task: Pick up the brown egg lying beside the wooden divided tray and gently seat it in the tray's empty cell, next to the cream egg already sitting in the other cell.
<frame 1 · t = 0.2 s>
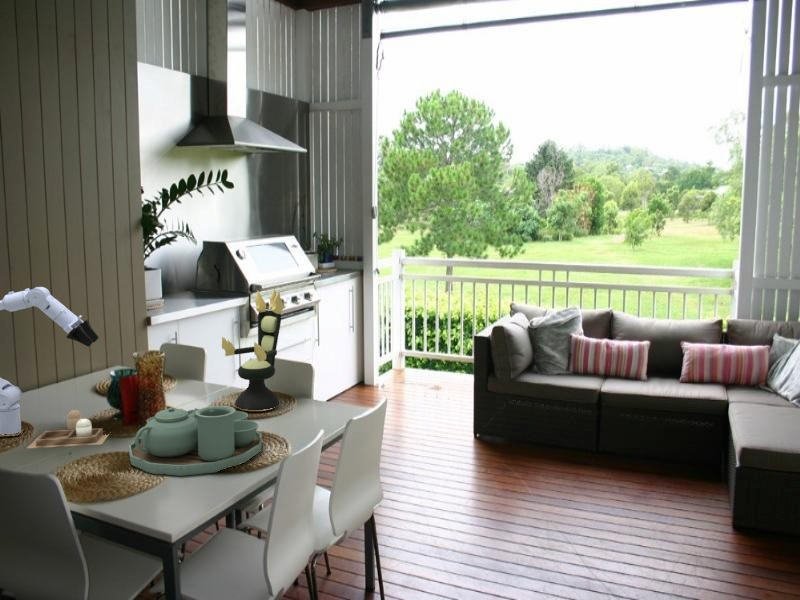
hand: (93, 342, 223), 30 cm above the table, tool tilted 45°, fingers open, 7 cm apart
cream egg: (84, 438, 215), resting on wooden divided tray
wooden divided tray: (70, 441, 214), on the table
toy throne chair: (260, 406, 256), on the table
brown egg: (75, 429, 227), on the table
tea set: (196, 453, 206), on the table
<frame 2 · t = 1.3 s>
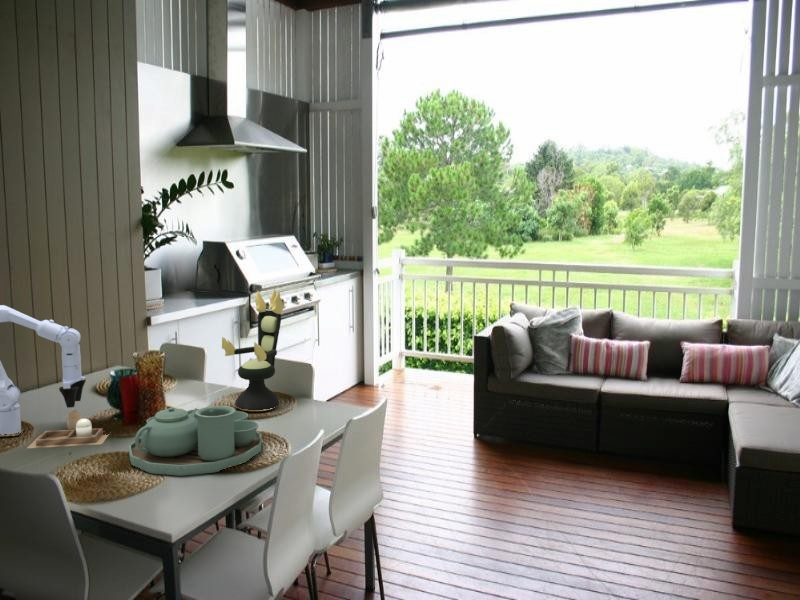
hand: (73, 404, 225), 9 cm above the table, tool pointing down, fingers open, 7 cm apart
nothing on the table moved.
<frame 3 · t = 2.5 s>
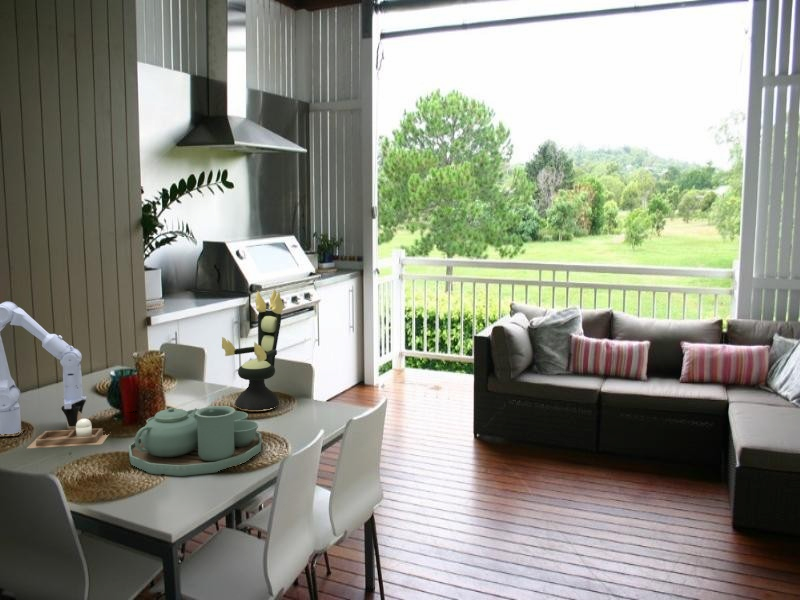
hand: (74, 423, 226), 2 cm above the table, tool pointing down, fingers closed on brown egg, 5 cm apart
brown egg: (75, 429, 227), on the table, touching gripper
everything else where it was.
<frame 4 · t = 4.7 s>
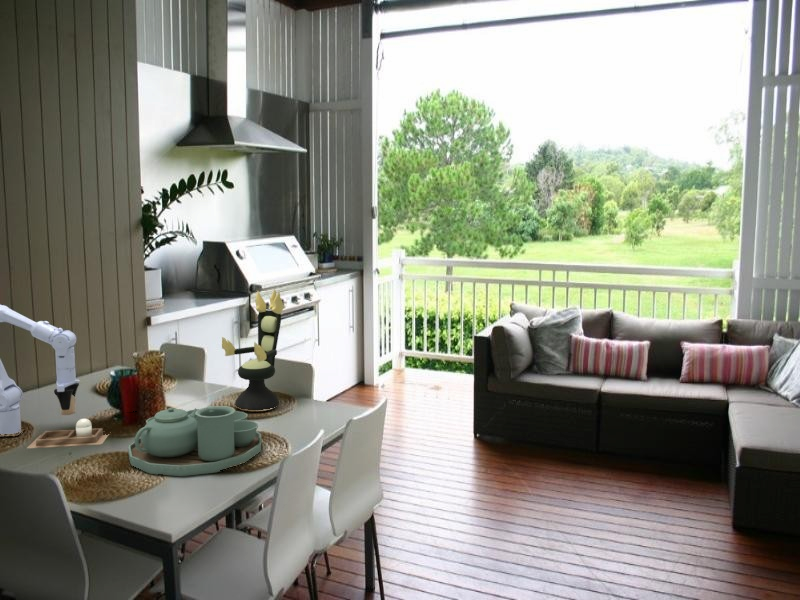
hand: (67, 407, 221), 9 cm above the table, tool pointing down, fingers closed on brown egg, 5 cm apart
brown egg: (68, 413, 221), point 7 cm above the table, touching gripper
everything else where it was.
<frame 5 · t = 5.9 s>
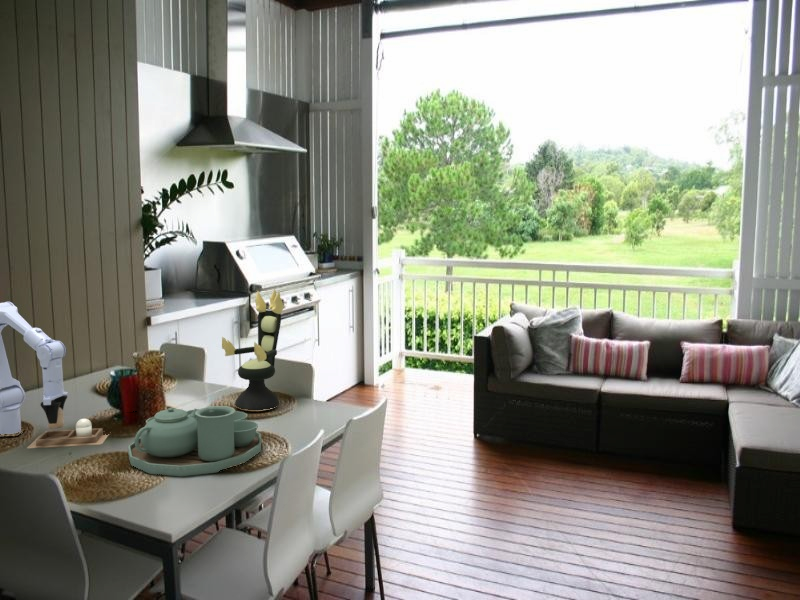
hand: (55, 420, 213), 7 cm above the table, tool pointing down, fingers closed on brown egg, 5 cm apart
brown egg: (55, 426, 213), point 5 cm above the table, touching gripper
everything else where it was.
when the fingers open (4 cm above the table, at t = 7.1 s): brown egg drops 1 cm, resting on wooden divided tray.
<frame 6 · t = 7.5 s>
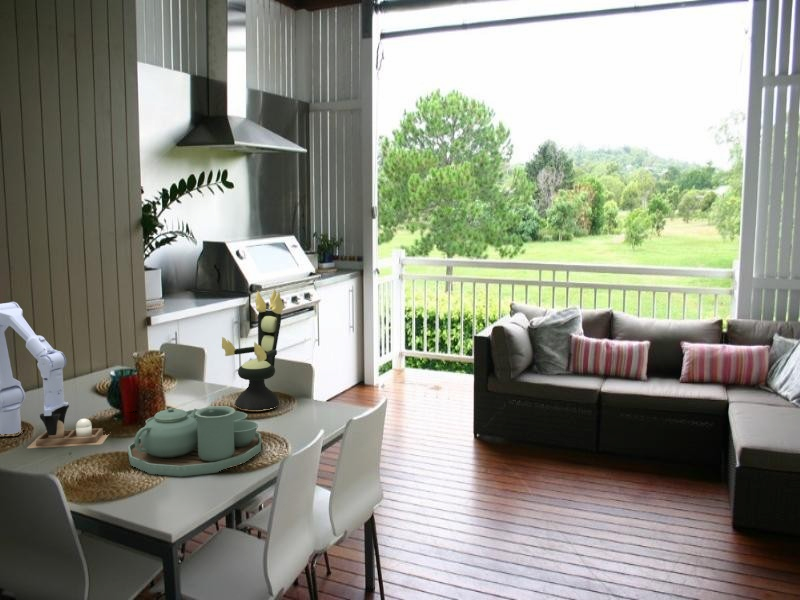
hand: (55, 431, 213), 4 cm above the table, tool pointing down, fingers open, 7 cm apart
brown egg: (56, 440, 213), point 1 cm above the table, touching wooden divided tray
everything else where it was.
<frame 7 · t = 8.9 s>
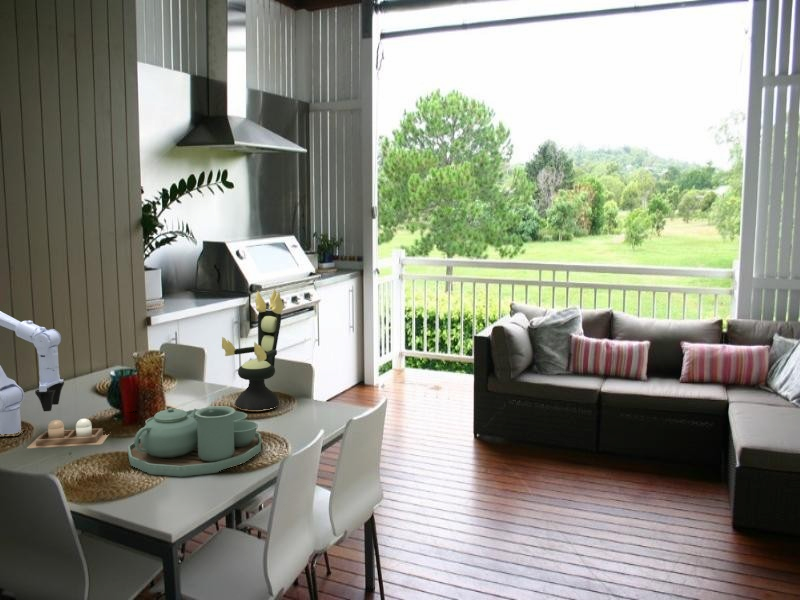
hand: (51, 407, 217), 10 cm above the table, tool pointing down, fingers open, 7 cm apart
nothing on the table moved.
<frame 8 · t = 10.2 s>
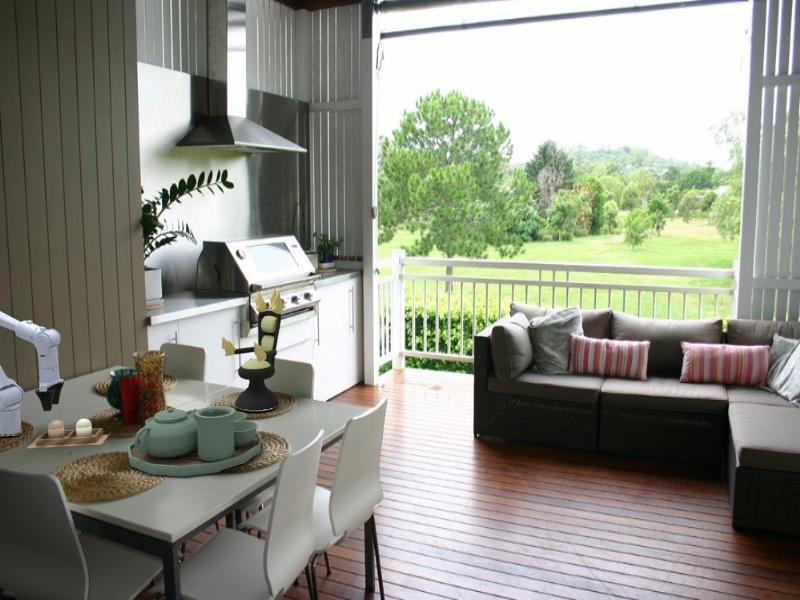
hand: (51, 407, 218), 10 cm above the table, tool pointing down, fingers open, 7 cm apart
nothing on the table moved.
at the end: brown egg 0.1 cm from the target spot on the wooden divided tray, point 0.6 cm above the wooden divided tray's base; brown egg tilted 0°; the gripper is holding nothing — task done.
